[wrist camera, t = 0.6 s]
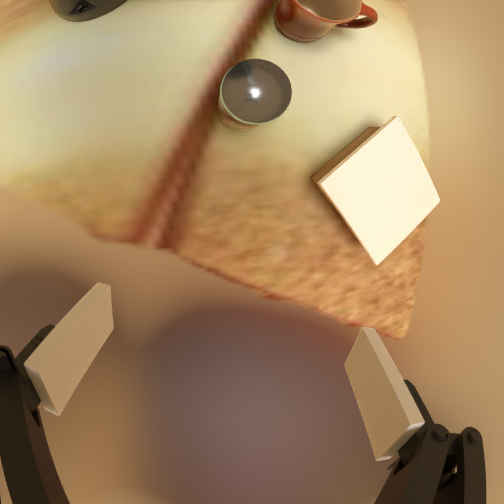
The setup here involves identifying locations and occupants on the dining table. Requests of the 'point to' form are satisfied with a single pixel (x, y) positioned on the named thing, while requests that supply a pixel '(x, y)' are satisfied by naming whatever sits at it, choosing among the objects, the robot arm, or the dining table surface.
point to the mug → (321, 17)
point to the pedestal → (379, 188)
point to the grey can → (253, 94)
